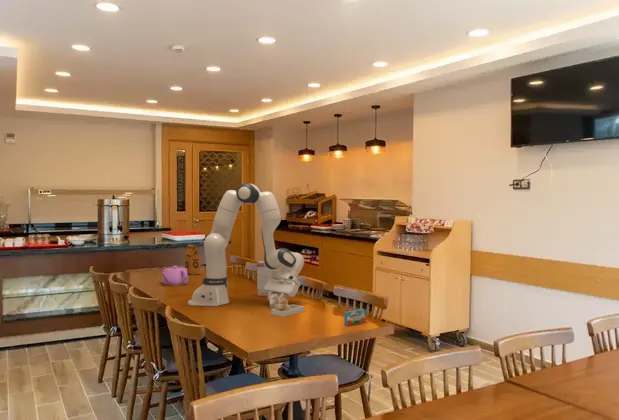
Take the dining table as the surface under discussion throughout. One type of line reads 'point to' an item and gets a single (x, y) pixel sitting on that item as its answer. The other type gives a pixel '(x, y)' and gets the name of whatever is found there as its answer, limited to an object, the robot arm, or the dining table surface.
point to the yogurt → (354, 317)
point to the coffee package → (192, 260)
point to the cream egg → (273, 301)
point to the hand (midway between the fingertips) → (273, 300)
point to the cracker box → (265, 277)
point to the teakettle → (175, 276)
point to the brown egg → (283, 305)
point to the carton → (291, 310)
